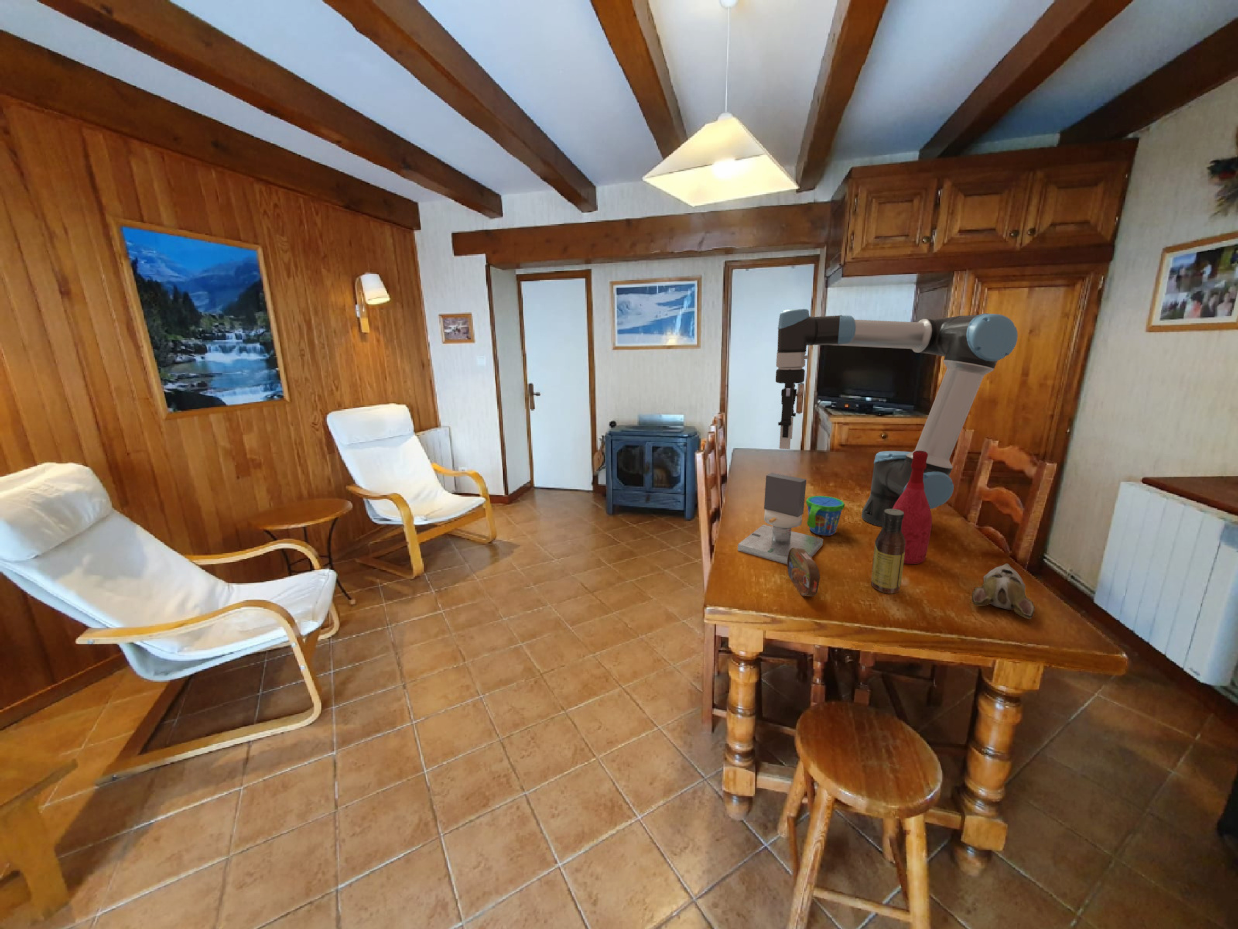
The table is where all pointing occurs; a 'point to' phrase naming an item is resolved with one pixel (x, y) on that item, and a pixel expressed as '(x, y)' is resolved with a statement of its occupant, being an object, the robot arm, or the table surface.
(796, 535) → the base
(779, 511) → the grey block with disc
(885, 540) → the sauce bottle
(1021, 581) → the ceramic sculpture
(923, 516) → the wine bottle
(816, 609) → the table surface
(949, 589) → the table surface
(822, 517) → the snack cup
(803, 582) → the tin
